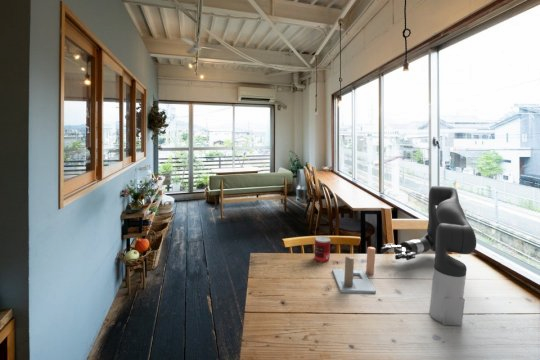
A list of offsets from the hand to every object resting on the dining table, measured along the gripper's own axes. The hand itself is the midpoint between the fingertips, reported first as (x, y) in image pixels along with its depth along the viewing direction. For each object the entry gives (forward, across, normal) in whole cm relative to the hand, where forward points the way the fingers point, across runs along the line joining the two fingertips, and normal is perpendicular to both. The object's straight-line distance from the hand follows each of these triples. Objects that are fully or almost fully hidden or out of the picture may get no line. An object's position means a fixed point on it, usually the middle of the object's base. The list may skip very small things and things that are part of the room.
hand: (388, 253), depth 131 cm
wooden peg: (+11, 0, +7) cm, 13 cm away
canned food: (+22, -22, +8) cm, 32 cm away
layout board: (+24, +2, +7) cm, 25 cm away
